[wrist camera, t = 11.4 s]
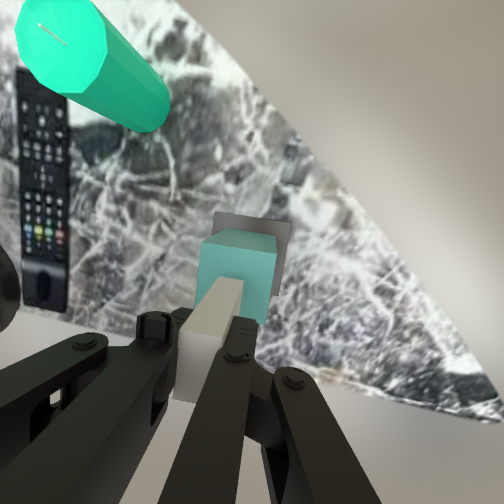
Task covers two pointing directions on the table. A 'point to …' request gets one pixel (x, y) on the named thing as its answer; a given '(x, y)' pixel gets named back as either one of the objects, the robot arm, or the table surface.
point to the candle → (90, 62)
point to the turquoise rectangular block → (240, 268)
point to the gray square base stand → (259, 226)
